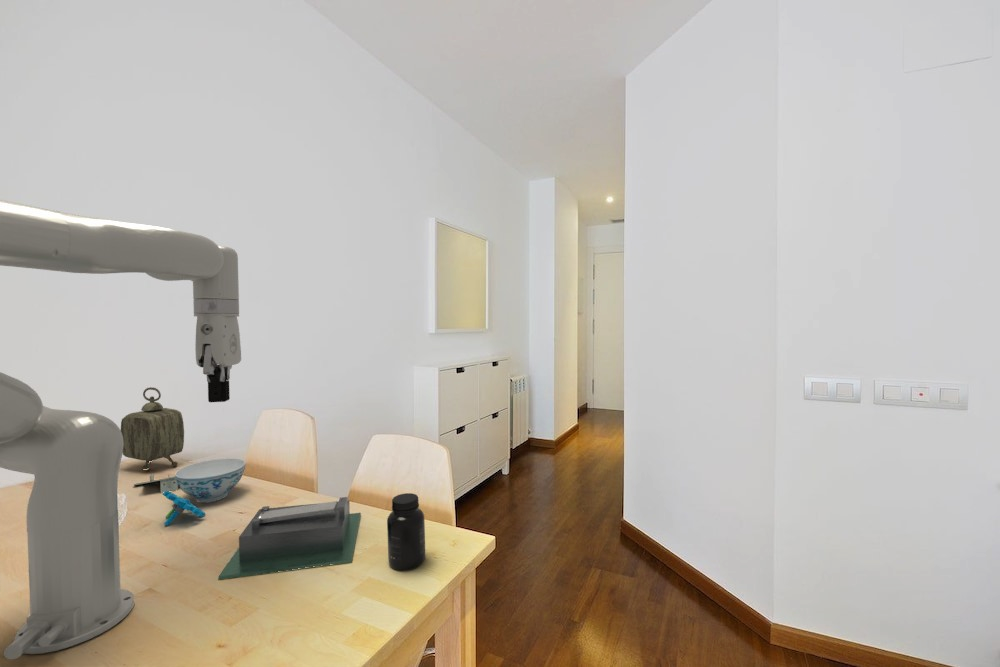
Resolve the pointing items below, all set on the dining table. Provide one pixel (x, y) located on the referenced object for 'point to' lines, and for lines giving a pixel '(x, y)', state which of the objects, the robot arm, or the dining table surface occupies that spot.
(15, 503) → the dining table surface
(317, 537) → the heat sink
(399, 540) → the supplement bottle
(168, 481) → the metal bracket
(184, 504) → the gear
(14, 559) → the dining table surface
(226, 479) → the chinaware
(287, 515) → the steel strap
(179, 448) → the tabletop clock
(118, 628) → the dining table surface
